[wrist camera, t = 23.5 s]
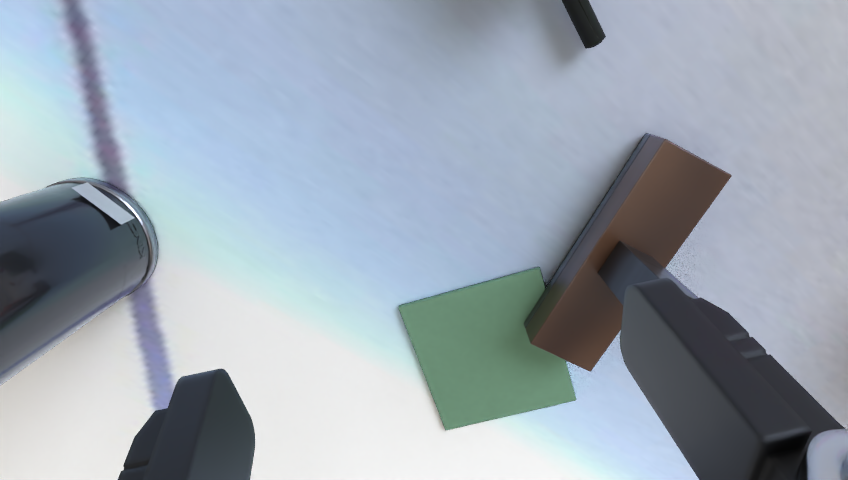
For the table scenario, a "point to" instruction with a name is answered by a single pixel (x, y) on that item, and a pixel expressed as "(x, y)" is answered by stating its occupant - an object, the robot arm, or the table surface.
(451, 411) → the rubber mat
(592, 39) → the handheld radio
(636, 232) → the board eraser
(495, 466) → the table surface
